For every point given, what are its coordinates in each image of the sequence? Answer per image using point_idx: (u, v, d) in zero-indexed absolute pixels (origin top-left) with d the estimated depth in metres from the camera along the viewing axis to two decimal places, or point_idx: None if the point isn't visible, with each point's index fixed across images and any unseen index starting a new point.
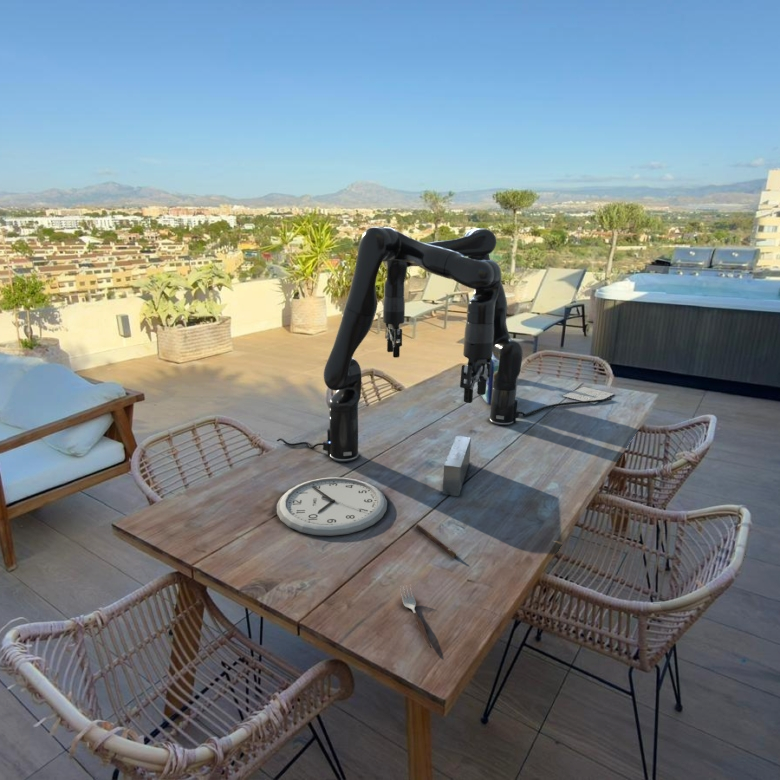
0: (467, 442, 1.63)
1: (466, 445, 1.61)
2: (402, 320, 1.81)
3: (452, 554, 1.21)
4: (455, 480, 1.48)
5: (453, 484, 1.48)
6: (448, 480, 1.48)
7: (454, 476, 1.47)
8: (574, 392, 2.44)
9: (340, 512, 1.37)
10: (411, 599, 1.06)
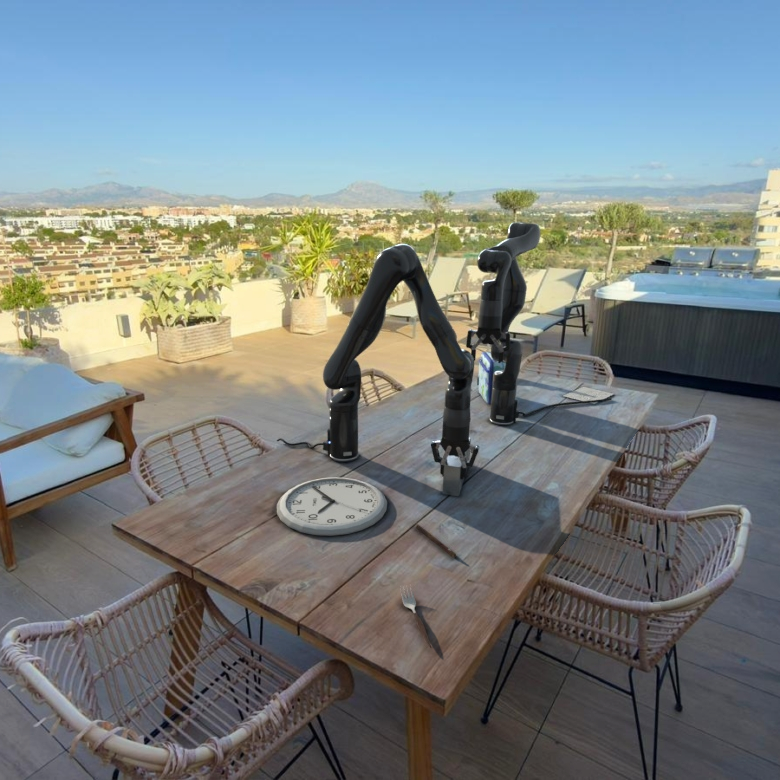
0: None
1: None
2: (480, 324, 1.71)
3: (452, 554, 1.21)
4: (455, 480, 1.48)
5: (453, 484, 1.48)
6: (448, 480, 1.48)
7: (454, 476, 1.47)
8: (574, 392, 2.44)
9: (340, 512, 1.37)
10: (411, 599, 1.06)
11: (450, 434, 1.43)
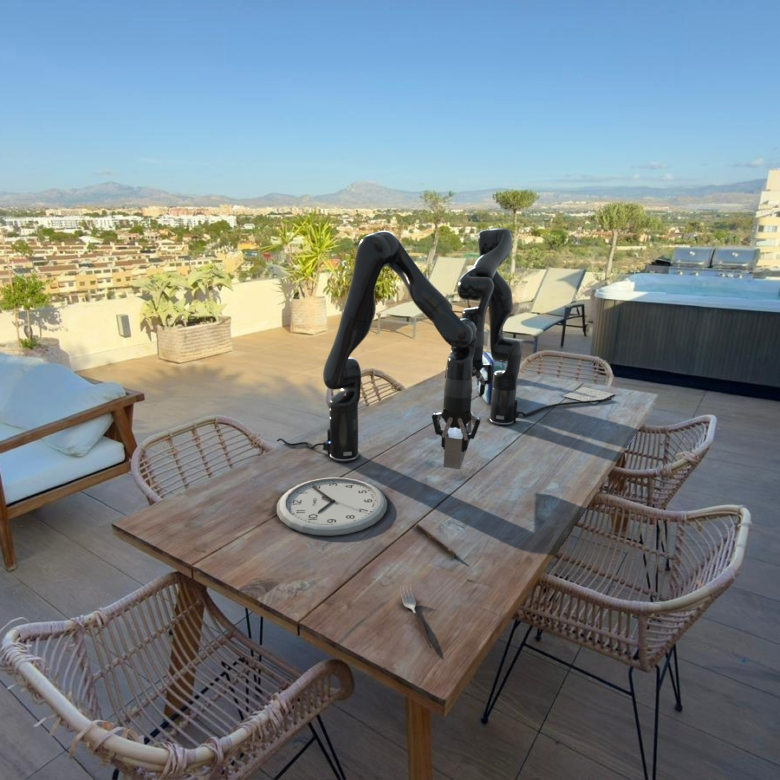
0: None
1: None
2: None
3: (452, 554, 1.21)
4: (456, 452, 1.45)
5: (454, 456, 1.46)
6: (450, 453, 1.46)
7: (455, 448, 1.45)
8: (574, 392, 2.44)
9: (340, 512, 1.37)
10: (411, 599, 1.06)
11: (451, 405, 1.41)
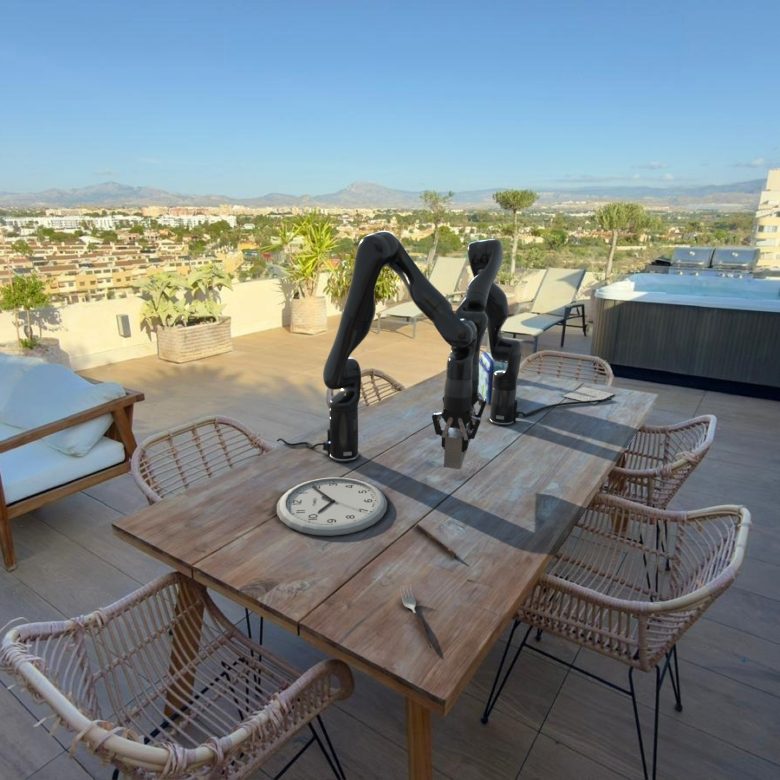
0: None
1: None
2: None
3: (452, 554, 1.21)
4: (456, 452, 1.45)
5: (454, 456, 1.46)
6: (450, 453, 1.46)
7: (455, 448, 1.45)
8: (574, 392, 2.44)
9: (340, 512, 1.37)
10: (411, 599, 1.06)
11: (451, 405, 1.41)
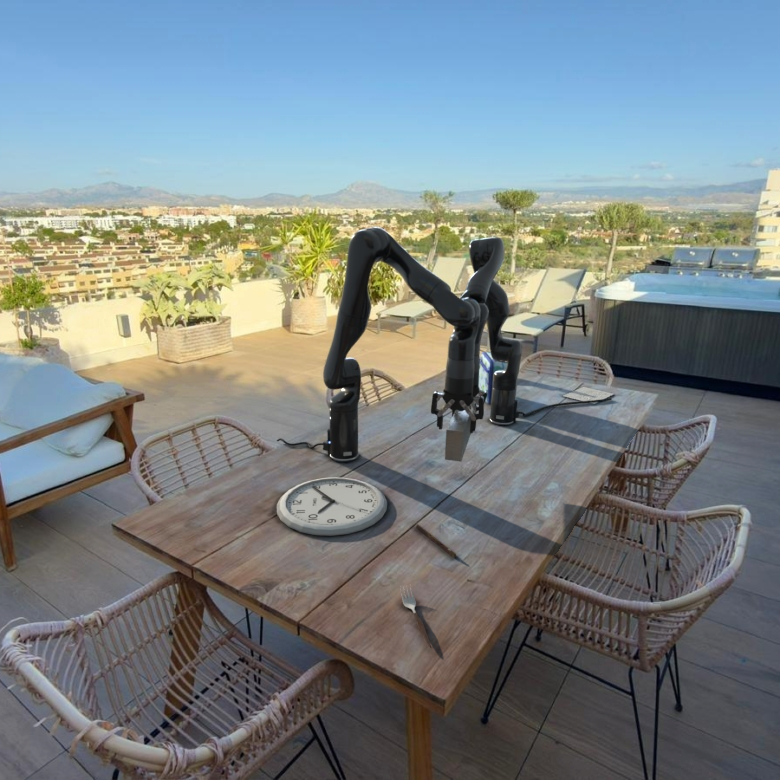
0: None
1: None
2: None
3: (452, 554, 1.21)
4: (458, 445, 1.45)
5: (455, 449, 1.45)
6: (451, 445, 1.45)
7: (457, 441, 1.44)
8: (574, 392, 2.44)
9: (340, 512, 1.37)
10: (411, 599, 1.06)
11: (453, 387, 1.37)
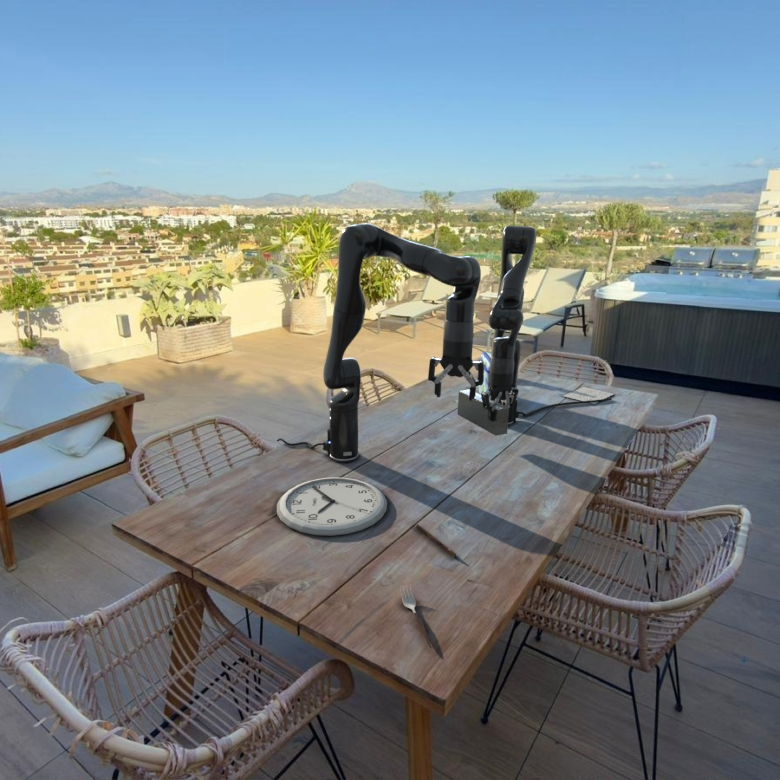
0: None
1: None
2: None
3: (452, 554, 1.21)
4: None
5: None
6: None
7: None
8: (574, 392, 2.44)
9: (340, 512, 1.37)
10: (411, 599, 1.06)
11: (451, 350, 1.30)
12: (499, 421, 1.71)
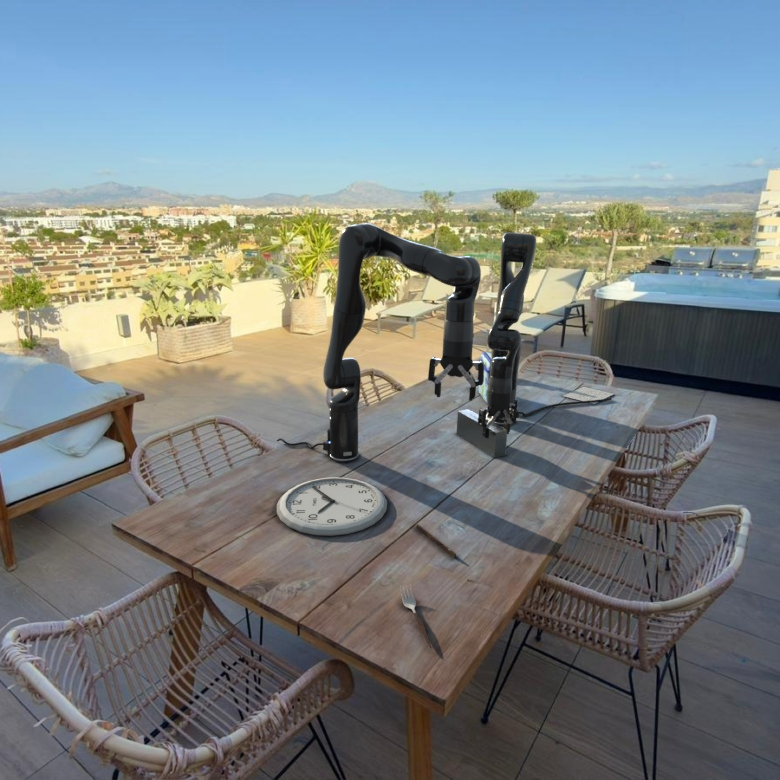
0: (489, 427, 1.75)
1: None
2: None
3: (452, 554, 1.21)
4: None
5: None
6: None
7: None
8: (574, 392, 2.44)
9: (340, 512, 1.37)
10: (411, 599, 1.06)
11: (451, 350, 1.30)
12: (498, 443, 1.73)
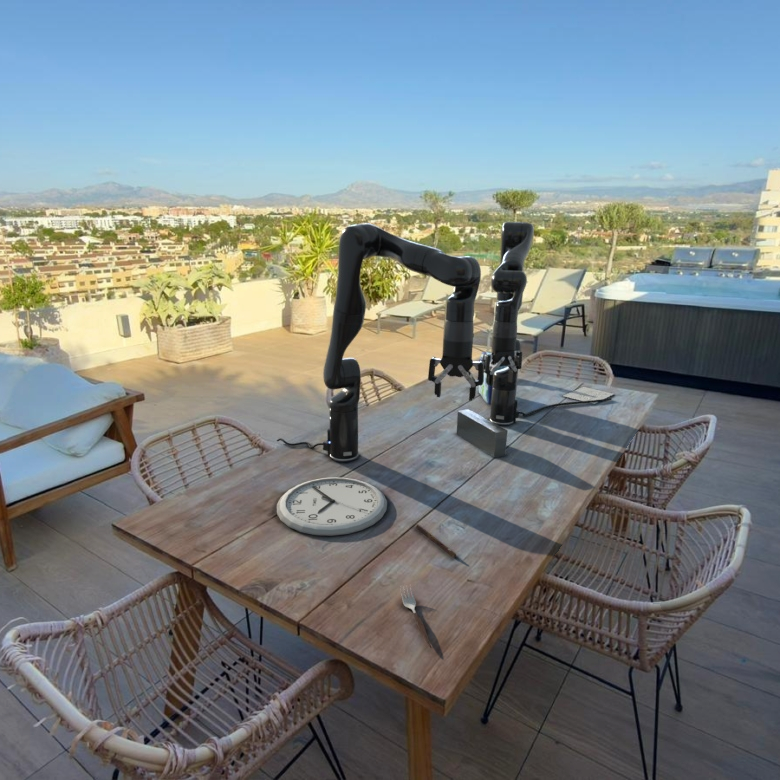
0: (489, 427, 1.75)
1: (484, 425, 1.78)
2: None
3: (452, 554, 1.21)
4: None
5: None
6: None
7: None
8: (574, 392, 2.44)
9: (340, 512, 1.37)
10: (411, 599, 1.06)
11: (451, 350, 1.30)
12: (498, 443, 1.73)
